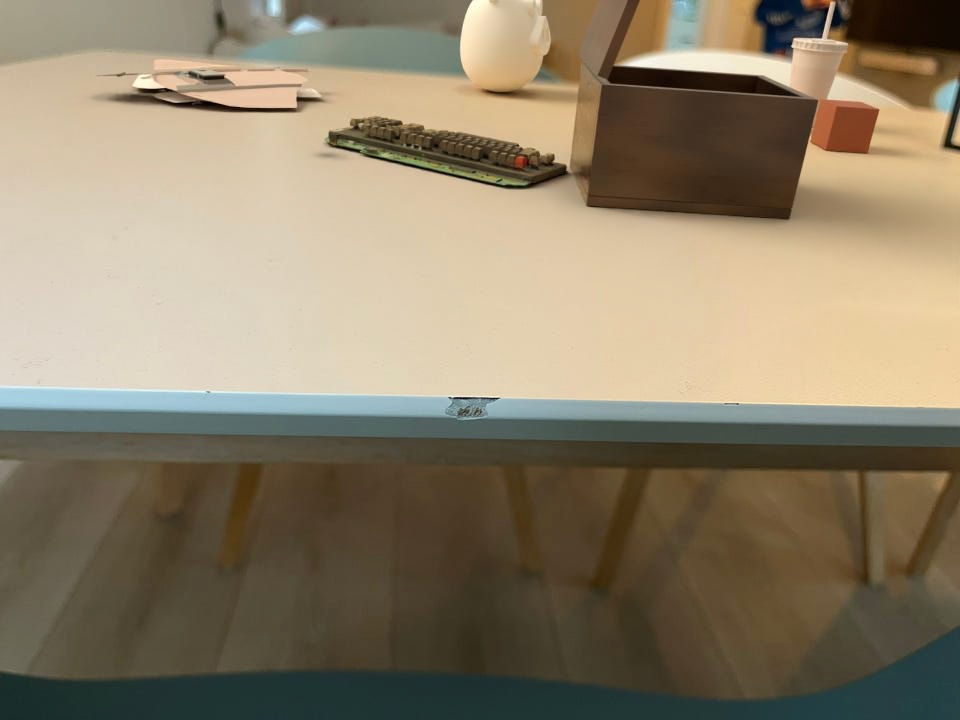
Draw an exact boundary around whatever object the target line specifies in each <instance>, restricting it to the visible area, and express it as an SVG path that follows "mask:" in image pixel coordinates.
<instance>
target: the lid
mask: <svg viewBox="0 0 960 720" xmlns="http://www.w3.org/2000/svg"><path fill="white" fill-rule="evenodd" d="M640 2H641V0H598V3H597V5H596V7H595V10H594V13H593V15H592V17H591V20H590V23H589V24H588V28H587V30H586V33H585V35H584V39H583V41H582V43H581V46H580V48H579V51H578V53H577V54H578V57H579V58H580V59H581V60H582V61H583V63H586V64H587V65H588V66H589V67H590V68H591V69H592V70H593V71H594V72H595V73H596V75H597V76H599V77H602V78H604V79H608V78H609V75H610V73H611V70H612V68H613V65H615V63H616V60H617V58H618V55H619V53H620V50H621V48H622V45H623V43H624V42H625V39H626V36H627V35H628V34H627V33H628V31H629V28H630V26H631V23H632V21H633V19H634V16H635V14H636V12H637V9H638V7H639V4H640Z"/></svg>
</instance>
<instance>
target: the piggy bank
mask: <svg viewBox="0 0 960 720" xmlns="http://www.w3.org/2000/svg"><path fill="white" fill-rule="evenodd" d="M543 1H544V0H472V1H471V2H470V4H469V6H468V8H467V10H466V13H465V16H464V19H463V23H462V26H461V27H462V28H461V33H460V42H459V43H460V44H459V55H460V61H461V66H462V69H463V71H464V73H465V75H466V76H467V78H468V79H469V80H470V81H471V82H473V84H475V85H476V86H478V87H479V88H481V89H483V90H487V91H490V92H494V93H508V92H514V91H517V90H519V89H522V88H524V87H525V86H527V85H528V84H530V83H531V82H532V81H533V80H534V79H536V77H537V75H538V74H539V72H540V70H541V67H542V65H543V59H544V56H546V55H548V53H549V51H550V48H551V43H552V37H551V30H550V25H549V21H548V18H547V16H546V15H542V14H543V8H544V7H543V6H544V3H543Z"/></svg>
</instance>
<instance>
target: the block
mask: <svg viewBox="0 0 960 720" xmlns="http://www.w3.org/2000/svg"><path fill="white" fill-rule="evenodd" d="M879 113H880V108H878V107H876V106H872V105H870V104H867V103H865V102H862V101H855V100H837V99H827V100H826V99H821V100H820V104H819V108H818V112H817V116H816V120H815V124H814V127H812V128H813V129H812V131H811V132H812V133H811V135H810V143H813V144H814V145H816V146H818V147H819V148H821V149H823V150H824V151H830V152H843V153H844V152H845V153H857V154H859V153H860V154H868V153H869V150H870V146H871V142H872V138H873V135H874V132H875V127H876V124H877V120H878V117H879Z"/></svg>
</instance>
